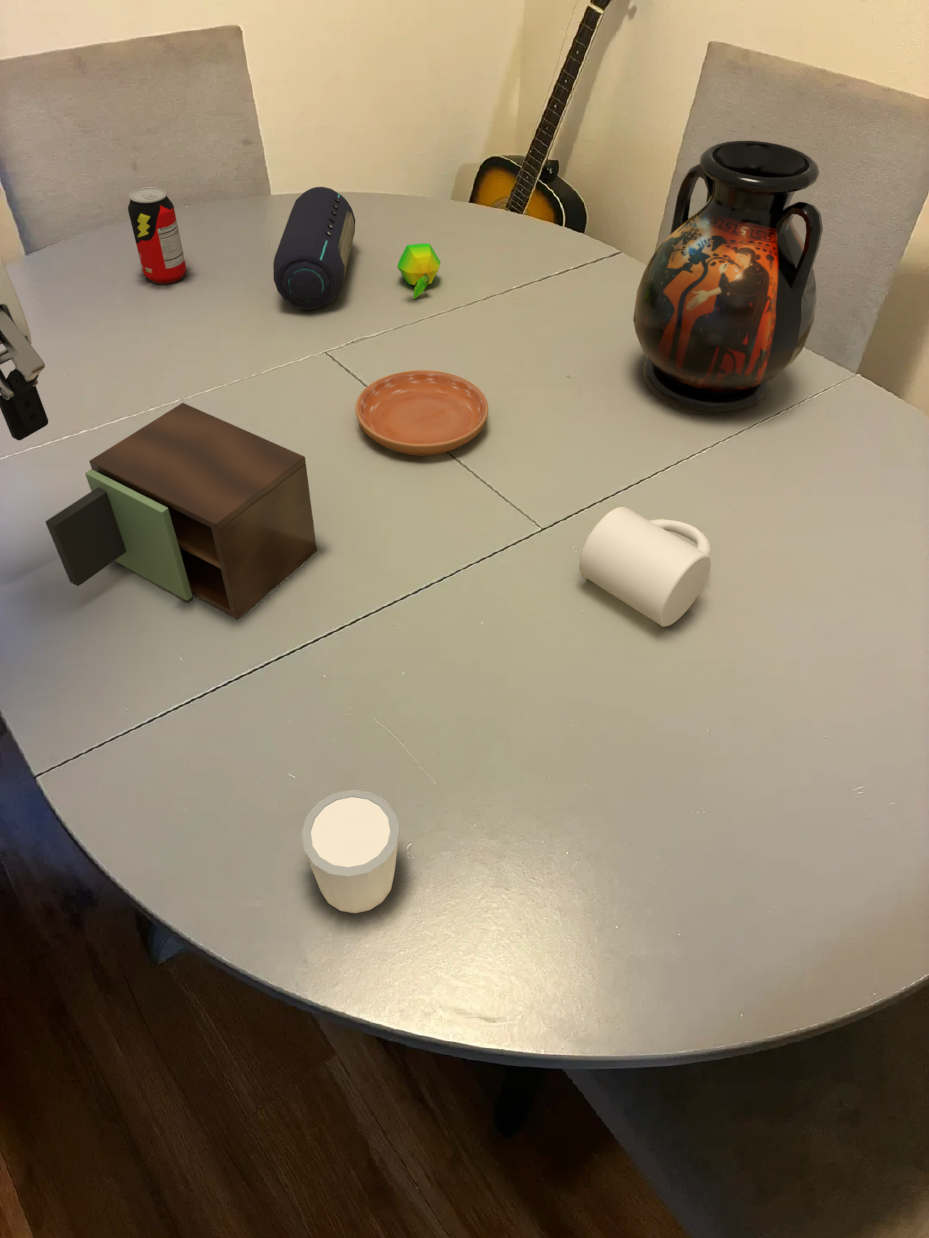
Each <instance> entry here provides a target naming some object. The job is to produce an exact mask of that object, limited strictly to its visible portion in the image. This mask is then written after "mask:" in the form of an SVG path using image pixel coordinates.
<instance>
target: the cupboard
mask: <svg viewBox="0 0 929 1238" xmlns="http://www.w3.org/2000/svg"><path fill="white" fill-rule="evenodd" d="M89 466H90V467H91V469H92V470H94V471H96V472H98V473H100V474H102V475H104V476H106V477H108V478H110V479H112V480H114V481H116V482H118V483H120V484H122V485H124V486H126V487H128V488H130V489H132V490H134V491H136V492H138V493H140V494H142V495H144V496H146V497H148V498H150V499H152V500H153V501H155V502H157V503H159V504H161V505H163V506H165V507H167V508H168V509H169V513H170V516H171V520H172V524H173V527H174V531H175V534H176V538H177V542H178V545H179V549H180V552H181V556H182V560H183V563H184V567H185V570H186V574H187V578H188V581H189V585H190V589H191V592H192V596H193V597H196V598H197V599H199V600H201V601H203V602H205V603H207V604H208V605H210V606H212V607H214V608H216V609H217V610H219V611H221V612H224V613H225V614H227V615H228V616H230V617H232V618H234V619H235V620H239V619H240V618H241V617H242V616H244V614H245V613H247V612H248V611H249V610H251V608H253V607H254V606H255V605H257V603H259V602H260V601H261V600H262V599H263V598H264V597H265V596H266V595H268V594H269V593H270V592H271V591H272V590H274V589H275V588H276V587H277V586H278V585H280V584H281V582H283V581H284V580H285V579H287V577H288V576H290V575H291V574H293V572H294V571H295V570H297V569H298V568H299V567H300V566H301V565H302V564H304V563H305V562H306V561H307V560H309V558H311V557H312V556H313V555H314V554H315V553H317V551H318V547H317V540H316V532H315V524H314V516H313V509H312V501H311V493H310V485H309V484H310V483H309V477H308V469H307V461H306V457H305V456H304V455H302V454H300V453H297V452H295V451H293V450H291V449H289V448H286V447H284V446H282V445H279V444H277V443H275V442H273V441H270V440H268V439H267V438H264V437H261V436H259V435H257V434H255V433H252V432H251V431H248V430H246V429H244V428H241V427H239V426H236V425H234V424H232V423H230V422H227V421H225V420H224V419H221V418H218V417H216V416H214V415H212V414H210V413H207V412H205V411H202V410H200V409H198V408H196V407H194V406H192V405H189V404H187V403H185V402H181V403H180V404H178V405H177V406H175V407H174V408H172V409H170V410H168V411H167V412H165V413H164V414H162V415H160V416H159V417H157V418H156V419H154V420H152V421H151V422H149V423H147V424H146V425H144V426H143V427H141V428H139V429H138V430H136V431H134V432H133V433H131V434H130V435H127V437H125V438H123V439H122V440H120V441H118V442H117V443H116V444H114V445H112V446H110V447H108V448H107V449H106V450H104V451H103V452H101V453H100V454H98V455H96V456H95V457H92V458H91V459H90V460H89ZM91 469H90V470H91Z"/></svg>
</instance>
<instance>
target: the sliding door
mask: <svg viewBox="0 0 929 1238" xmlns="http://www.w3.org/2000/svg"><path fill="white" fill-rule="evenodd" d="M84 474H85V477H86V480H87V483H88V486H89V488H90V489H89V490H90V492H88V493H87V494H85V495H84V496H82V497H81V498H79V499H78V500H76V501H75V502H73V503H72V504H70V505H68V506H67V507H65V508H64V509H62V510H60V511H59V512H58V513H55V515H52V516H51V517H50V518H48V519H46V520H45V524H46V525H45V526H46V528H47V530H48V532H49V534H50V537H51V540H52V542H53V545H54V547H55V550H56V551H57V555H58V556H59V559H60V562H61V563H62V566H63V568H64V571H65V573H66V576H67V579H68V580H69V582H70V583H71V584H73V585H75V586H76V587H80V586H82V584H84V583H85V582H87V581H88V580H90V579H91V578H92V577H94V576H95V575H97V574H99V572H101V571H102V570H104V569H105V568H107V567H108V566H109V565H111V564H112V563H113V562H115V563H117V564H119V565H121V566H123V567H125V568H127V569H129V570H130V571H132V572H134V573H135V574H138V575H139V576H141V577H143V578H144V579H147V580H149V581H150V582H152V583H154V584H156V585H157V586H159V587H161V588H163V589H164V590H166V591H168V592H170V593H172V594H174V595H176V596H177V597H179V598H181V599H182V600H185V601H187V602H188V601H189V600H190V599H192V598H193V595H192V592H191V589H190V585H189V581H188V578H187V574H186V570H185V567H184V563H183V560H182V556H181V552H180V549H179V545H178V542H177V538H176V534H175V531H174V527H173V524H172V520H171V516H170V513H169V509H168V508H167V507H165V506H163V505H161V504H159V503H157V502H155V501H153V500H152V499H150V498H148V497H146V496H144V495H142V494H140V493H138V492H136V491H134V490H132V489H130V488H128V487H126V486H124V485H122V484H120V483H118V482H116V481H114V480H112V479H110V478H108V477H106V476H104V475H102V474H100V473H98V472H96V471H94V470H92V469H89V470H88V471H86V472H85V473H84Z"/></svg>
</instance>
